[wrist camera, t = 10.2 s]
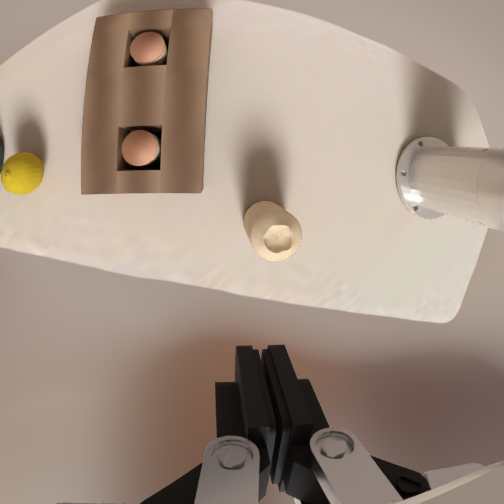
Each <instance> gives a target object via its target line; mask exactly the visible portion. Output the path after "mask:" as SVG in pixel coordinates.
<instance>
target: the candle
mask: <svg viewBox="0 0 504 504" xmlns="http://www.w3.org/2000/svg"><path fill="white" fill-rule="evenodd" d="M244 228H245V231H246V233H247V236H248V238H249V240H250V242H251V245H252V247H253V249H254V250H255V252H256V253H257V254H258V255H259V256H261V257H262V258H264V259H267V260H270V261H279V260H283V259H286V258H288V257H290V256H291V255H292V254H293V253H294V252H295V251H296V250H297V248H298V247H299V245H300V242H301V238H302V231H301V227H300V224H299V222H298V221H297V219H296V218H295V217H294V216H293V215H292V214H290V213H289V212H287V211H286V210H285V209H283V208H282V207H280V206H279V205H277V204H275V203H273V202H270V201H260V202H257V203H255V204H253V205H252V206H251V207H250V208H249V209H248V210H247V212H246V213H245V216H244Z"/></svg>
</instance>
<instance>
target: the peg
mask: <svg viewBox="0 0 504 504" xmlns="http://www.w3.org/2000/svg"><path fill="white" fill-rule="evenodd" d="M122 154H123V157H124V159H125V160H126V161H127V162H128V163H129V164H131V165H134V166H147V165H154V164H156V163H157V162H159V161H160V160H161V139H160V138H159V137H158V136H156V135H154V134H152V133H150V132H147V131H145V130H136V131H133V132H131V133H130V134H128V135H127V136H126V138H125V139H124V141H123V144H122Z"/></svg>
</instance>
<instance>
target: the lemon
mask: <svg viewBox="0 0 504 504" xmlns="http://www.w3.org/2000/svg"><path fill="white" fill-rule="evenodd" d="M43 173H44V171H43V165H42V162H41V160H40V159H39V158H38V157H37V156H36V155H34V154H32V153H28V152H21V153H17V154H15V155H13V156H11V157H10V158H9V159H8V160H6V162H5V163H4V165H3V167H2V171H1V181H2V184H3V186H4V187H5V189H6V190H7V191H9V192H11V193H13V194H18V195H23V194H27V193H30V192H32V191H33V190H35V189H36V188H37V187H38V186H39V184H40V183H41V181H42V178H43Z"/></svg>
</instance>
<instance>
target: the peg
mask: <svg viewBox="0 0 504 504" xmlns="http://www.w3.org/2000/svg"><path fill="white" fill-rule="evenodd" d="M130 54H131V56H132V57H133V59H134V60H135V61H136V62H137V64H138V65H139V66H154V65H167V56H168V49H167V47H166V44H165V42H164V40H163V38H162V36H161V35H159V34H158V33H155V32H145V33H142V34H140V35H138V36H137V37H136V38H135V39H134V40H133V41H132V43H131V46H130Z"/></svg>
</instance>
